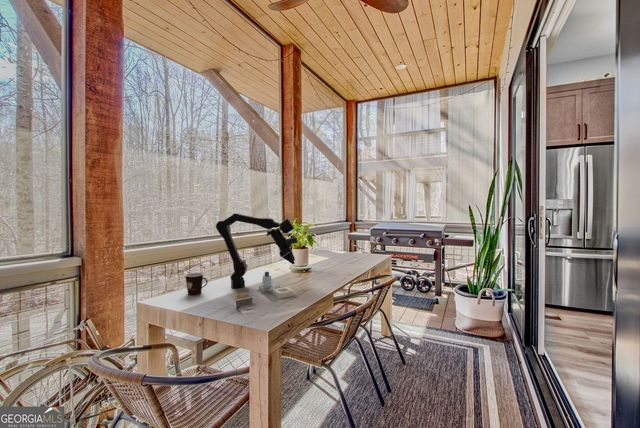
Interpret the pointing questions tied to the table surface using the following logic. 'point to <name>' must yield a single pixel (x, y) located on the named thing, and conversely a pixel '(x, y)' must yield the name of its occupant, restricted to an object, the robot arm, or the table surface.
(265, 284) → the plug
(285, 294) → the port block
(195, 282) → the coffee mug
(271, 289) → the hollow square tube
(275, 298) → the panel board
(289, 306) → the table surface
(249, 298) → the platform
